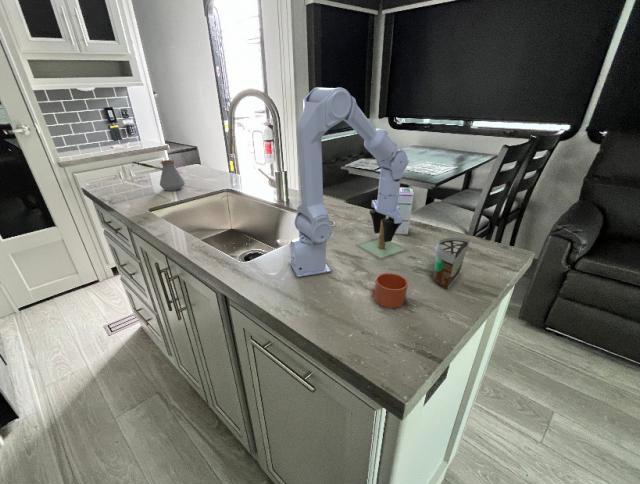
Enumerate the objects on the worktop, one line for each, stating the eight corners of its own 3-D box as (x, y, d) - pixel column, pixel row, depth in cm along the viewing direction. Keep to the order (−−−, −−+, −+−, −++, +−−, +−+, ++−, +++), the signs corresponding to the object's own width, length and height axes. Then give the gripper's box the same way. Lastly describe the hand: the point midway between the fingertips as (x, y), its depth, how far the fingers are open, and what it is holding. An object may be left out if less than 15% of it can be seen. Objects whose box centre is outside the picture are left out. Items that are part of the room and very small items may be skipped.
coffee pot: (180, 184, 163) (174, 153, 156) (190, 188, 156) (183, 156, 148) (136, 192, 151) (127, 159, 144) (144, 198, 144) (135, 164, 136)
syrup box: (408, 235, 108) (415, 192, 101) (390, 233, 109) (395, 191, 102) (406, 228, 113) (413, 187, 105) (389, 227, 114) (395, 186, 107)
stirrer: (379, 249, 98) (383, 222, 94) (376, 246, 100) (379, 219, 96) (386, 248, 99) (390, 221, 94) (382, 245, 101) (386, 218, 96)
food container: (438, 264, 91) (445, 232, 86) (460, 271, 87) (470, 238, 82) (421, 283, 82) (428, 248, 77) (445, 292, 79) (454, 256, 74)
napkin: (380, 259, 94) (380, 258, 94) (358, 246, 101) (358, 245, 101) (404, 250, 98) (405, 249, 98) (382, 238, 106) (382, 238, 106)
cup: (382, 310, 73) (385, 292, 70) (368, 293, 79) (370, 275, 76) (410, 304, 75) (414, 287, 72) (394, 288, 81) (397, 271, 78)
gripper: (415, 199, 86) (407, 245, 93) (388, 184, 98) (383, 226, 105) (391, 202, 84) (385, 248, 91) (367, 186, 96) (363, 228, 103)
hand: (382, 236), depth 98 cm, fingers open, 6 cm apart
